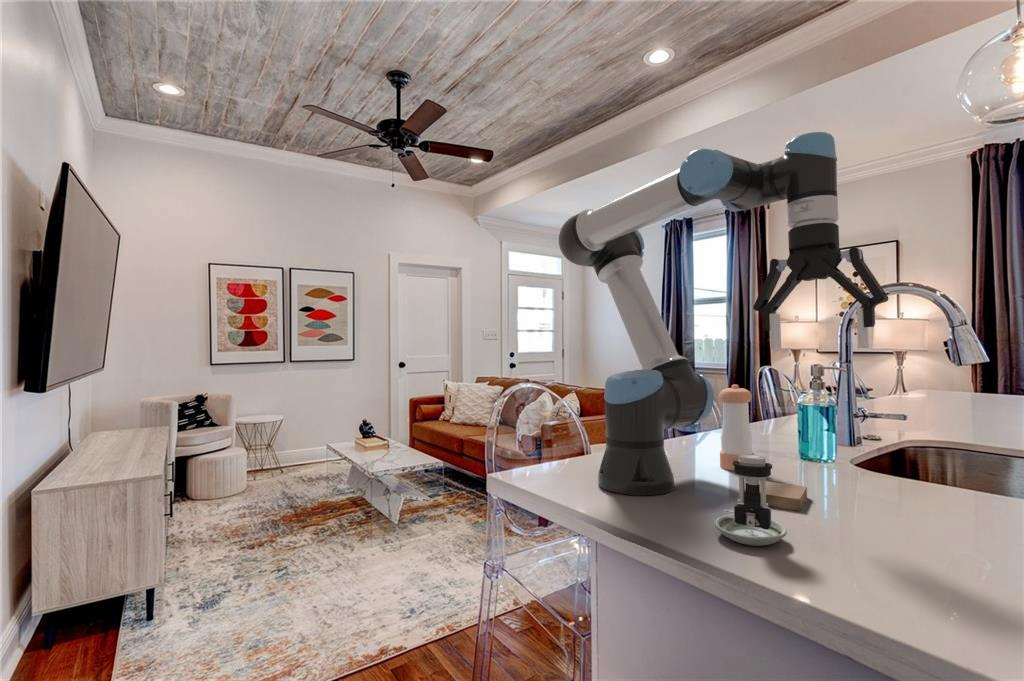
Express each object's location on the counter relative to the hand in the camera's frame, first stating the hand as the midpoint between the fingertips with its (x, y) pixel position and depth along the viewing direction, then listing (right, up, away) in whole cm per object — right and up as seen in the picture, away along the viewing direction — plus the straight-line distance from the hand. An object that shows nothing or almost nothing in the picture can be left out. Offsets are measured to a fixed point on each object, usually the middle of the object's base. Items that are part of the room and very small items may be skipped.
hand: (817, 349), depth 87 cm
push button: (-17, -26, -12) cm, 34 cm away
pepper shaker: (-1, -28, +30) cm, 41 cm away
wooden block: (-4, -28, +6) cm, 29 cm away
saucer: (-17, -29, -12) cm, 36 cm away
